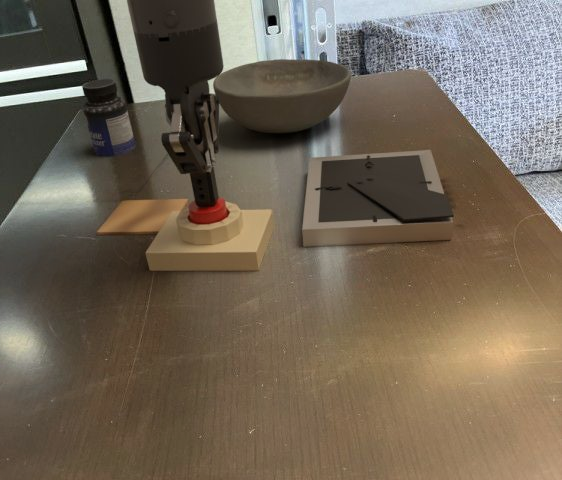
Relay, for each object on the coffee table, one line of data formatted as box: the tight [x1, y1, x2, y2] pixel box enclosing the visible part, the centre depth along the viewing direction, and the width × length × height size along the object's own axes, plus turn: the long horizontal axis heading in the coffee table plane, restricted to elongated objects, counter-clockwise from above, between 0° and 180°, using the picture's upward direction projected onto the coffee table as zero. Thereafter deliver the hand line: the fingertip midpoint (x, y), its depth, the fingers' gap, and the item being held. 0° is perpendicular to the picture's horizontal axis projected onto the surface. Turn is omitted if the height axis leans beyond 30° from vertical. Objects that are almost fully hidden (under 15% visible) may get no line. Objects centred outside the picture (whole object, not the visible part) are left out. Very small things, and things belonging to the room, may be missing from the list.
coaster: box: [96, 198, 189, 236], centre depth 77 cm, size 9×9×1 cm
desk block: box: [144, 201, 275, 272], centre depth 68 cm, size 12×10×4 cm
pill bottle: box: [81, 78, 137, 158], centre depth 91 cm, size 6×6×11 cm
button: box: [187, 197, 228, 225], centre depth 67 cm, size 4×4×2 cm
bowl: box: [212, 58, 352, 134], centre depth 97 cm, size 21×21×8 cm
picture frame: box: [301, 149, 455, 248], centre depth 74 cm, size 16×3×21 cm
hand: (207, 203), depth 66 cm, fingers closed
